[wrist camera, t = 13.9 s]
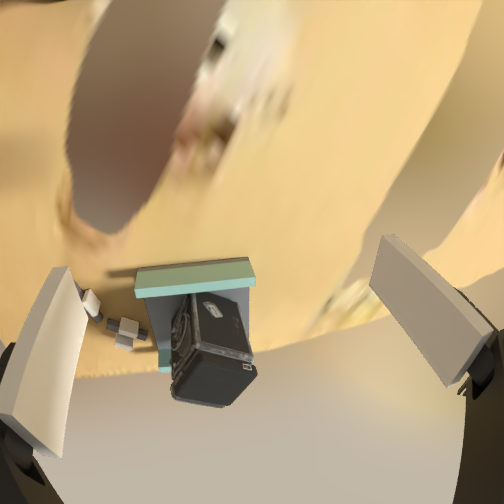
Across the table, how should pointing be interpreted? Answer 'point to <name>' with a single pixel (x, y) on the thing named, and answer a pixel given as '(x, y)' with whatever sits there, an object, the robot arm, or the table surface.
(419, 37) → the table surface
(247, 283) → the dock
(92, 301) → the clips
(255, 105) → the table surface
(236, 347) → the camera
